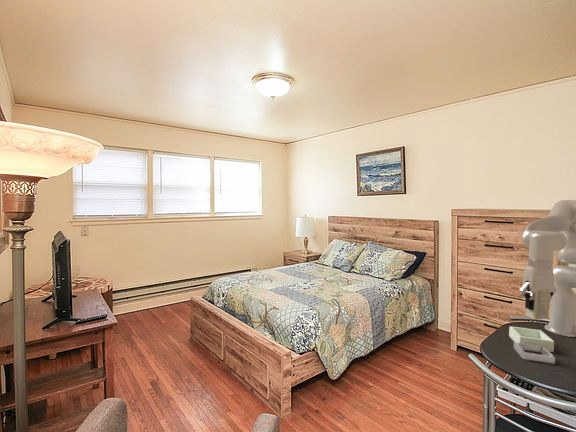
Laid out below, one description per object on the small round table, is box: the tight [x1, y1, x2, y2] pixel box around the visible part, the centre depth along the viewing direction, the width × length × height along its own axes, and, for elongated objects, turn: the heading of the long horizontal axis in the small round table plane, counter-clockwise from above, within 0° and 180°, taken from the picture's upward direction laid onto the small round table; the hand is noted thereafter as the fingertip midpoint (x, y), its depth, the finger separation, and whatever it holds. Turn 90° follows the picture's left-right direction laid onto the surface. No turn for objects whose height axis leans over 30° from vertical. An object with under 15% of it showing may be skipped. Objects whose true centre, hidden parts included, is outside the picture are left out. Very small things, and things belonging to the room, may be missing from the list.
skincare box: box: [524, 289, 550, 320], centre depth 126 cm, size 6×4×12 cm
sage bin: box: [508, 326, 555, 353], centre depth 138 cm, size 12×12×4 cm
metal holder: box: [513, 341, 556, 365], centre depth 127 cm, size 10×10×2 cm
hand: (536, 308), depth 127 cm, fingers closed on skincare box, 6 cm apart
